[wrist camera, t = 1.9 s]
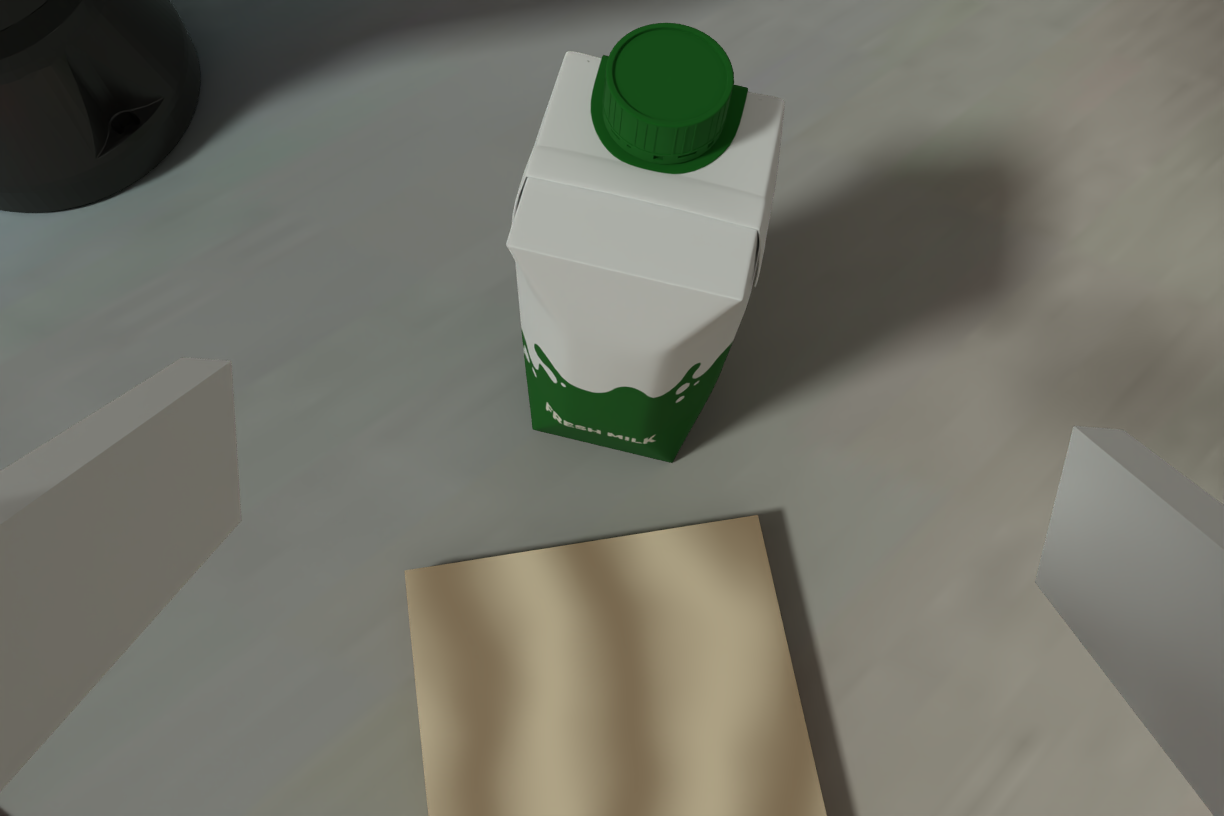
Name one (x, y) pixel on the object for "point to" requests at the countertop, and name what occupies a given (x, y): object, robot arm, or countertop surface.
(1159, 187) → the countertop surface
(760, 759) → the oak board
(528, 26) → the countertop surface
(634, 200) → the milk carton
